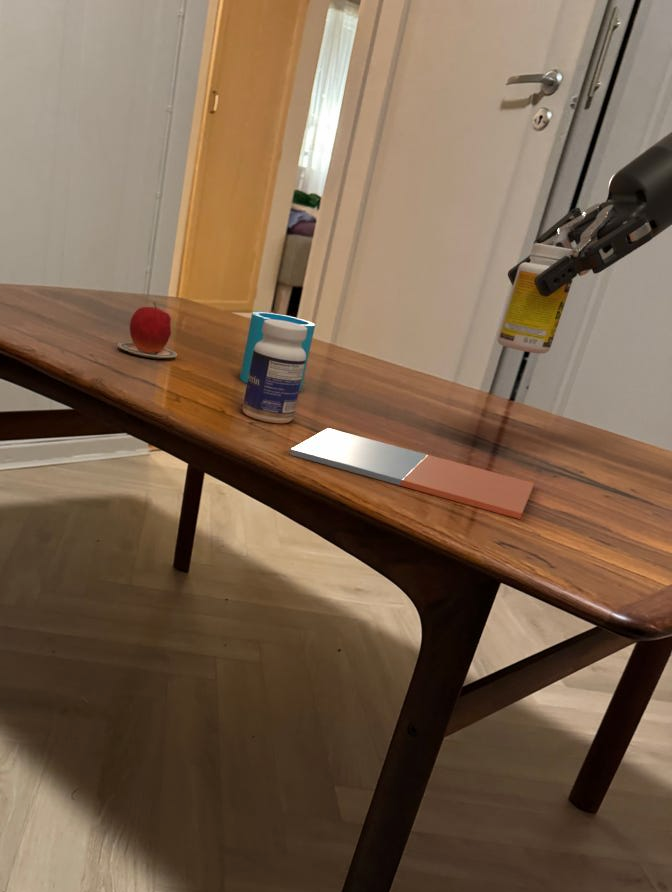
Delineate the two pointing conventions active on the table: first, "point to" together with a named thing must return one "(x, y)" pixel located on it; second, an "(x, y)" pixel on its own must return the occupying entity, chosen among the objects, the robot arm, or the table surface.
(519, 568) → the table surface
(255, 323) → the mug
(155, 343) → the apple
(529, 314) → the supplement bottle
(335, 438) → the sorting board
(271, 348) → the pill bottle
